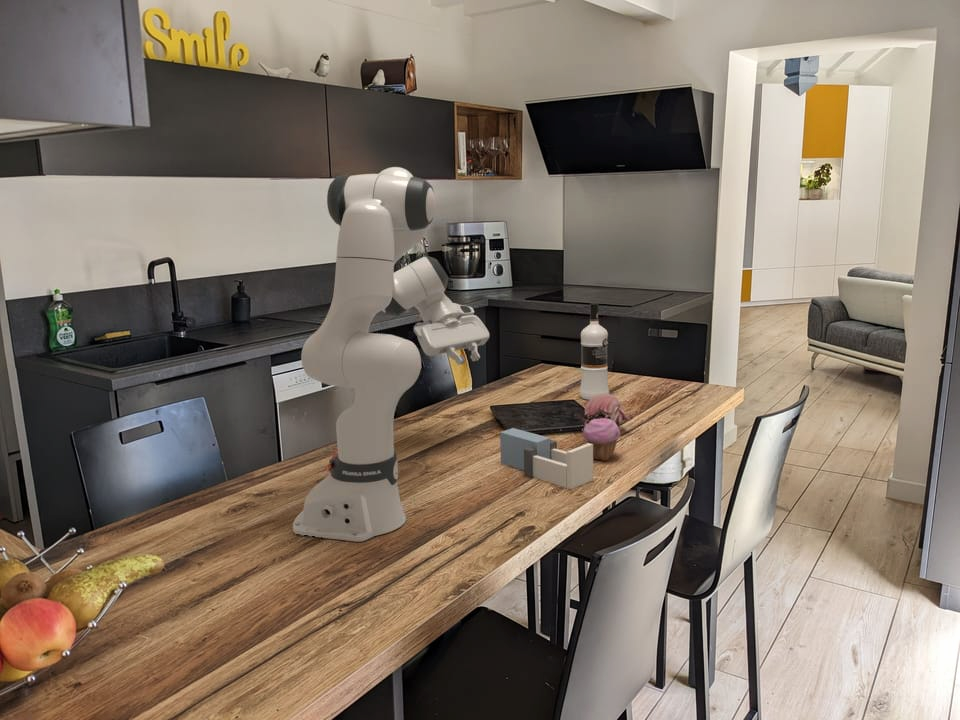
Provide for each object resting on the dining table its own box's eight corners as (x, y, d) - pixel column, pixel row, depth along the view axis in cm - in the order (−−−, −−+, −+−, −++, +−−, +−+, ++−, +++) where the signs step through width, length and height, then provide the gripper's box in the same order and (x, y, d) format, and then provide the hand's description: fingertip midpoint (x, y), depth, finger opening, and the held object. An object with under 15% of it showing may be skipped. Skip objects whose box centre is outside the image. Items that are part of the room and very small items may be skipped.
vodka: (591, 392, 254) (591, 300, 247) (615, 396, 247) (615, 302, 241) (573, 397, 247) (572, 303, 241) (597, 402, 241) (597, 306, 235)
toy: (628, 438, 201) (638, 419, 215) (615, 400, 200) (626, 383, 213) (585, 448, 206) (597, 428, 220) (572, 410, 205) (585, 393, 218)
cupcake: (577, 459, 191) (577, 420, 189) (594, 449, 198) (594, 411, 196) (609, 466, 186) (610, 426, 184) (626, 456, 193) (626, 417, 191)
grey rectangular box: (500, 463, 190) (500, 432, 188) (513, 458, 193) (513, 428, 191) (537, 474, 181) (537, 442, 180) (550, 469, 184) (550, 437, 183)
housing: (524, 475, 181) (523, 440, 180) (550, 465, 188) (550, 431, 186) (568, 490, 172) (568, 453, 170) (595, 479, 178) (595, 443, 176)
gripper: (415, 316, 191) (443, 360, 186) (476, 306, 205) (504, 347, 200) (405, 332, 195) (432, 376, 191) (465, 321, 209) (492, 361, 204)
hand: (469, 361), depth 195 cm, fingers open, 4 cm apart
